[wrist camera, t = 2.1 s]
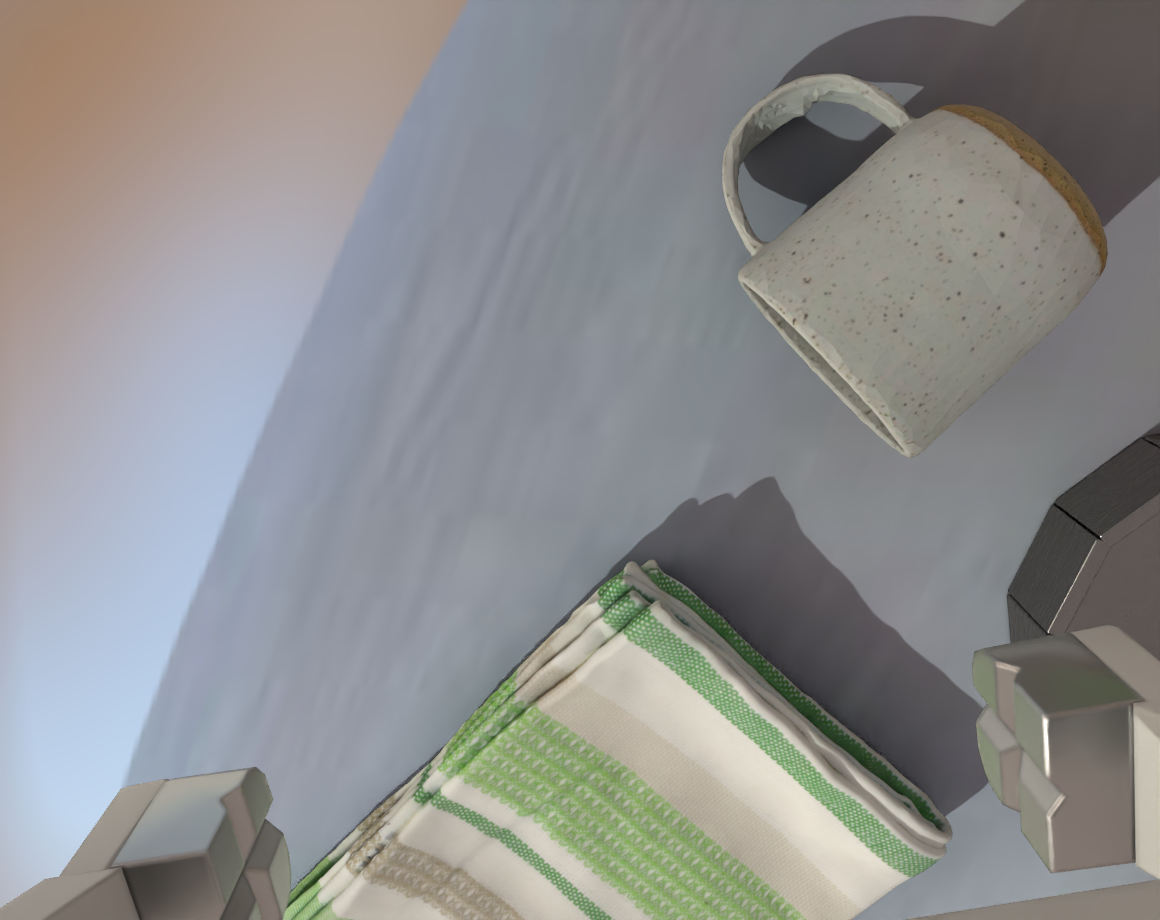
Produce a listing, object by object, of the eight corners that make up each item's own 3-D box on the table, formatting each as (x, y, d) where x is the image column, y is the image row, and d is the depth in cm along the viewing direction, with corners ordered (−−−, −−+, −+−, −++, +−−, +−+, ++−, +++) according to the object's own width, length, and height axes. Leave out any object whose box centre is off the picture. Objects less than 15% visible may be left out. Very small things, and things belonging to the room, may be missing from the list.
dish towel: (952, 811, 40) (986, 873, 36) (558, 1136, 45) (556, 1216, 42) (636, 535, 37) (642, 574, 33) (249, 918, 42) (219, 987, 38)
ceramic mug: (1055, 257, 33) (1184, 283, 26) (865, 426, 35) (936, 496, 28) (843, 11, 31) (918, -35, 24) (653, 203, 33) (669, 215, 26)
